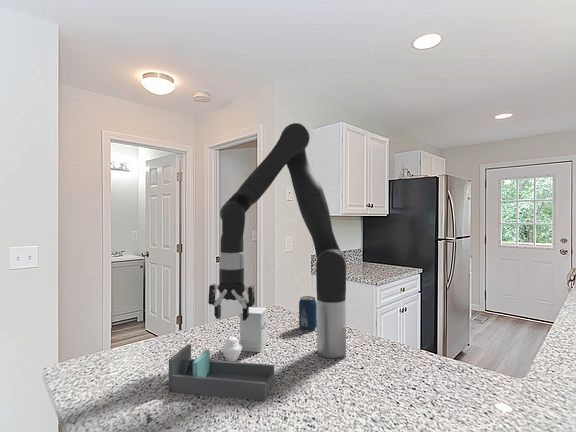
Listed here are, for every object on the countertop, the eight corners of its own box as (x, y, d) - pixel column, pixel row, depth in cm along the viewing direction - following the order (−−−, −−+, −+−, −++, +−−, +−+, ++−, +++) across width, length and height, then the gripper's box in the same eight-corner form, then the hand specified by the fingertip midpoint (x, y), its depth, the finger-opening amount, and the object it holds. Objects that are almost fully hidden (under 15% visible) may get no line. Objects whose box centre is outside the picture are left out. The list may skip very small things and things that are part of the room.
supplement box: (261, 352, 104) (260, 313, 104) (239, 351, 105) (239, 312, 105) (267, 344, 111) (267, 307, 111) (246, 342, 112) (246, 306, 112)
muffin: (223, 365, 95) (223, 341, 95) (220, 357, 100) (220, 334, 100) (244, 362, 97) (244, 338, 97) (239, 354, 103) (239, 332, 103)
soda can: (315, 325, 129) (315, 295, 130) (317, 331, 123) (317, 300, 123) (298, 325, 129) (298, 296, 129) (299, 331, 122) (299, 300, 122)
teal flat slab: (209, 372, 88) (209, 350, 88) (197, 386, 81) (197, 362, 81) (205, 371, 88) (205, 350, 88) (192, 386, 81) (192, 362, 81)
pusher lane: (274, 379, 86) (274, 350, 86) (265, 400, 76) (265, 367, 76) (187, 372, 91) (187, 344, 91) (168, 391, 81) (168, 359, 81)
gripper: (257, 265, 101) (257, 316, 101) (215, 264, 104) (214, 313, 104) (250, 269, 94) (249, 324, 94) (205, 267, 97) (204, 321, 97)
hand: (231, 318), depth 99 cm, fingers open, 8 cm apart
